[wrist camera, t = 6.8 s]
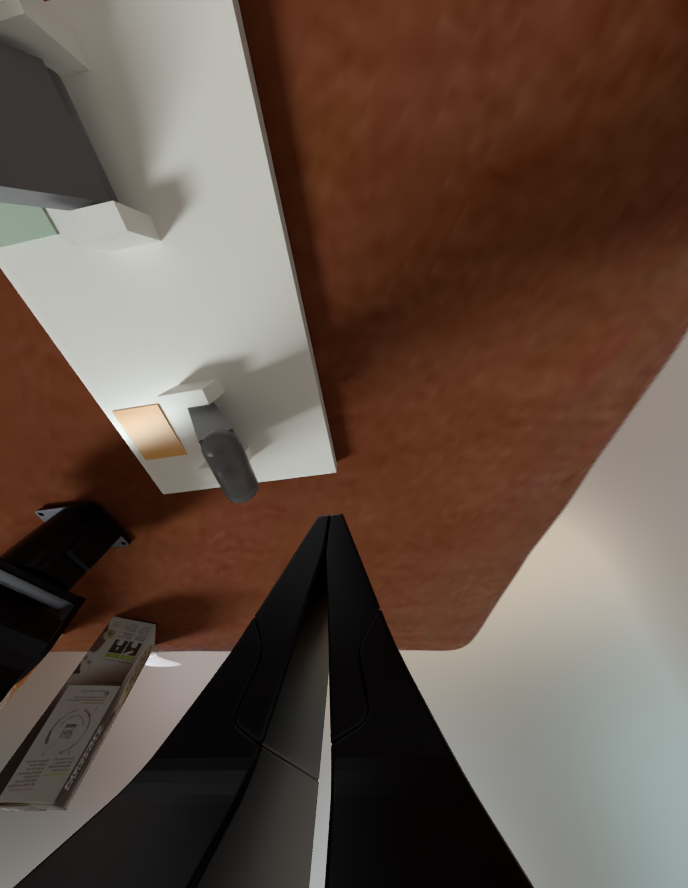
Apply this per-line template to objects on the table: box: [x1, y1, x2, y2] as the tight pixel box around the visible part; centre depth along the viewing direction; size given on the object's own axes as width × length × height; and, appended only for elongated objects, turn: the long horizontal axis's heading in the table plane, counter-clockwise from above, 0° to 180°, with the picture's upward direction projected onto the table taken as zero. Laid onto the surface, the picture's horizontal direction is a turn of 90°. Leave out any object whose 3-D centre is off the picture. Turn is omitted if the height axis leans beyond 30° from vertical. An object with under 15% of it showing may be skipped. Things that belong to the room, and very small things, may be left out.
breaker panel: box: [0, 0, 337, 494], centre depth 13 cm, size 16×24×9 cm, turn 9°
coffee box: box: [0, 617, 156, 811], centre depth 33 cm, size 9×6×16 cm
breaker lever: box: [188, 402, 259, 503], centre depth 15 cm, size 2×4×8 cm
